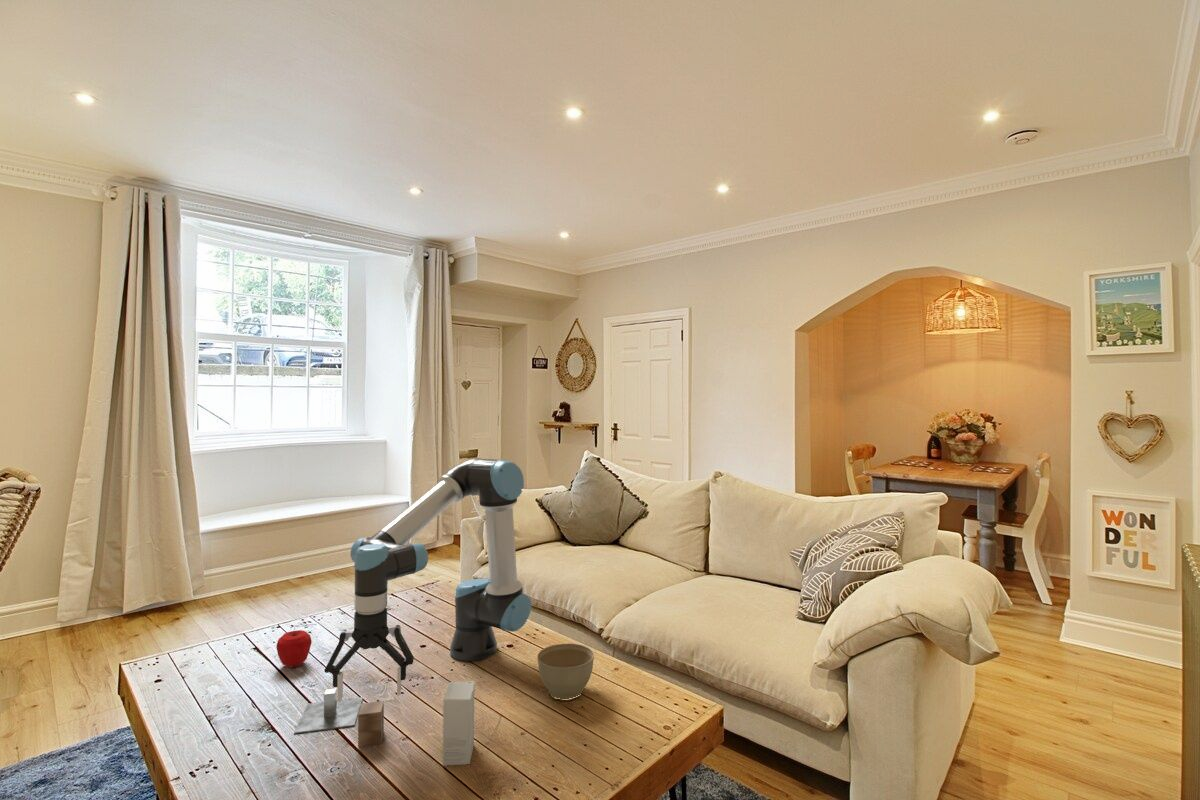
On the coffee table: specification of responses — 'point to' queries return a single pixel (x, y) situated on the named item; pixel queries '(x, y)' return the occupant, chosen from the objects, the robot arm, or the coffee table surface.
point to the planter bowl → (565, 669)
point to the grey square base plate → (329, 713)
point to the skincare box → (458, 723)
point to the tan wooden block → (370, 723)
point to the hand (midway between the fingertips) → (369, 696)
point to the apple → (294, 648)
